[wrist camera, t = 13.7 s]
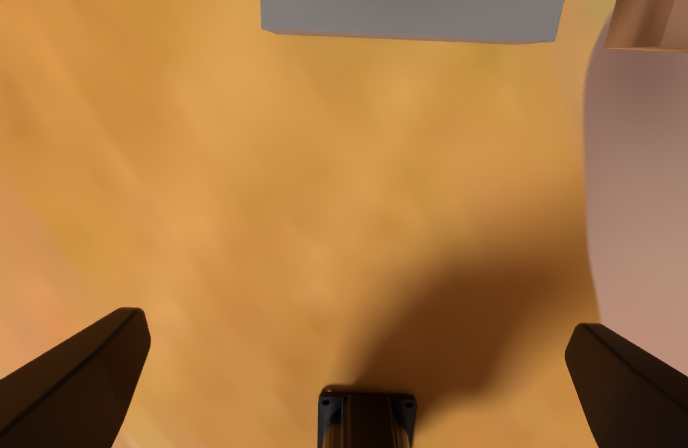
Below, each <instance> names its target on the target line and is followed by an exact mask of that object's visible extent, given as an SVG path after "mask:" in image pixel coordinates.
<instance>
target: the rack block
mask: <svg viewBox="0 0 688 448" xmlns="http://www.w3.org/2000/svg"><path fill="white" fill-rule="evenodd" d="M563 3H564V0H261V27H262V29H264V30H267V31H269V32H272V33H275V34H288V35H310V36H333V37H356V38H378V39H401V40H423V41H446V42H469V43H491V44H514V45H519V44H532V43H545V42H555V38H556V34H557V29H558V25H559V20H560V16H561V12H562V7H563Z"/></svg>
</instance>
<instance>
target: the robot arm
mask: <svg viewBox="0 0 688 448" xmlns="http://www.w3.org/2000/svg"><path fill="white" fill-rule="evenodd" d="M150 345H151V337H150V332H149V329H148V325H147V321H146V317H145V313H144V311H143V310H142V309H141V308H134V307H121V308H118V309H117V310H115V311H113V312H112V313H110V314H108V315H107V316H105V317H103V318H102V319H100V320H98V321H97V322H95V323H93V324H92V325H90V326H88V327H87V328H85V329H83V330H82V331H80V332H78V333H77V334H75V335H73V336H72V337H70V338H69V339H67V340H65V341H64V342H62V343H60V344H59V345H57V346H55V347H54V348H52V349H50V350H49V351H47V352H45V353H44V354H42V355H40V356H39V357H37V358H35V359H34V360H32V361H30V362H29V363H27V364H26V365H24V366H22V367H21V368H19V369H17V370H16V371H14V372H12V373H11V374H9V375H7V376H6V377H4V378H2V379H1V380H0V448H111V447H112V445H113V443H114V441H115V439H116V436H117V434H118V432H119V430H120V428H121V426H122V423H123V421H124V419H125V416H126V413H127V411H128V408H129V405H130V403H131V400H132V397H133V394H134V392H135V389H136V386H137V383H138V380H139V378H140V375H141V372H142V369H143V366H144V364H145V361H146V358H147V355H148V352H149V349H150ZM565 361H566V365H567V367H568V370H569V373H570V375H571V378H572V381H573V384H574V386H575V389H576V392H577V394H578V397H579V400H580V403H581V405H582V408H583V411H584V413H585V416H586V419H587V422H588V424H589V427H590V429H591V432H592V434H593V436H594V438H595V441H596V443H597V445H598V447H599V448H688V377H687V376H686V375H684V374H682V373H681V372H679V371H678V370H676V369H674V368H672V367H671V366H669V365H668V364H666V363H664V362H663V361H661V360H660V359H658V358H656V357H655V356H653V355H651V354H650V353H648V352H646V351H645V350H643V349H641V348H640V347H638V346H636V345H635V344H633V343H632V342H630V341H628V340H627V339H625V338H623V337H621V336H620V335H618V334H617V333H615V332H614V331H612V330H610V329H609V328H607V327H605V326H604V325H602V324H599V323H579V324H578V325H577V326H576V327H575V329H574V331H573V334H572V336H571V338H570V341H569V343H568V345H567V348H566V350H565ZM326 400H327V401H326ZM409 402H411V403H409ZM416 409H417V402H416V398H415V397H414V396H413V395H402V394H371V393H341V392H323V393H321V394H320V395H319V400H318V444H317V448H411V442H412V435H413V429H414V422H415V416H416Z"/></svg>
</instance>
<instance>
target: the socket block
mask: <svg viewBox="0 0 688 448" xmlns="http://www.w3.org/2000/svg"><path fill="white" fill-rule="evenodd" d="M604 48H605V49H627V50H651V51H672V52H688V0H617V2H616V5H615V9H614V13H613V16H612V20H611V24H610V27H609V31H608V35H607V38H606V42H605V46H604Z"/></svg>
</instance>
